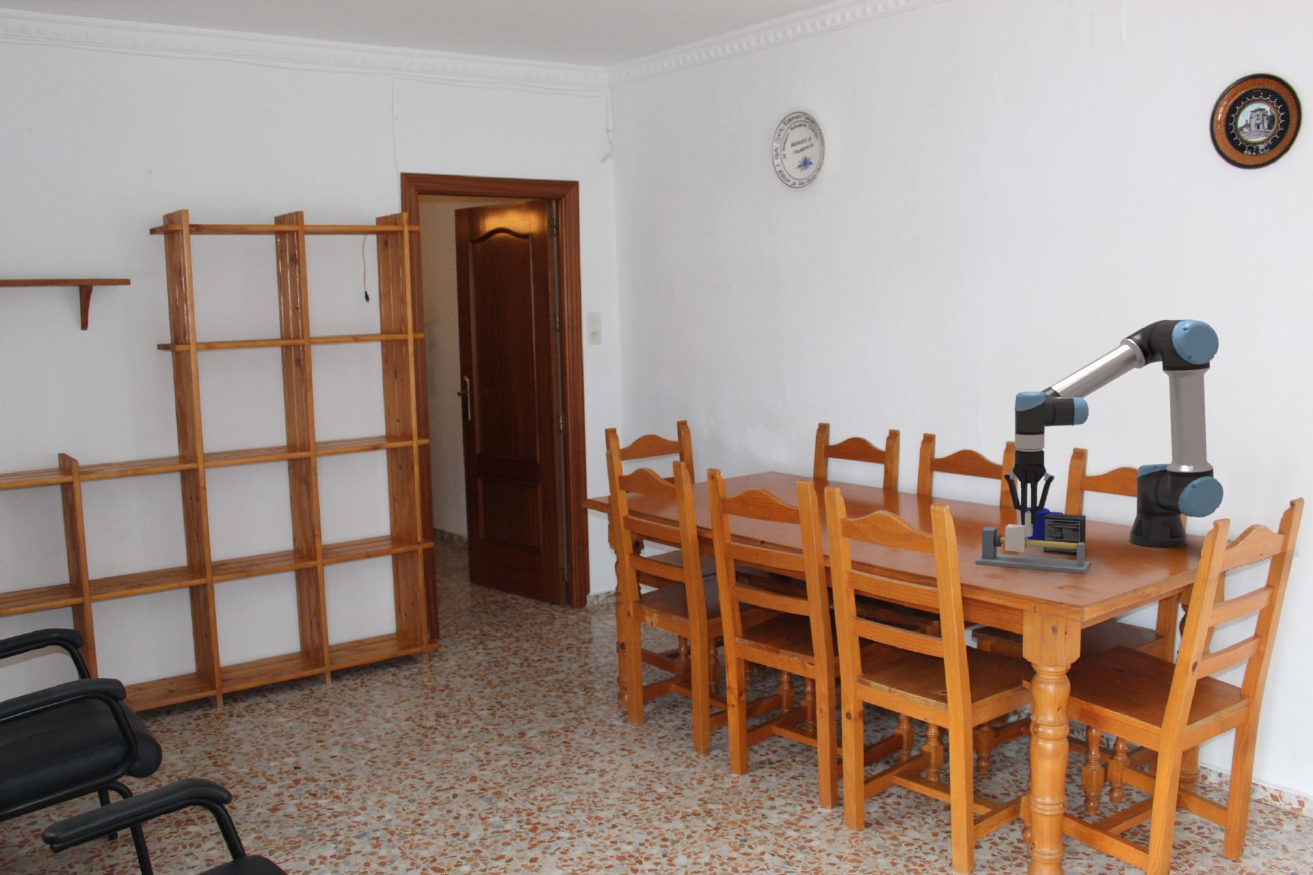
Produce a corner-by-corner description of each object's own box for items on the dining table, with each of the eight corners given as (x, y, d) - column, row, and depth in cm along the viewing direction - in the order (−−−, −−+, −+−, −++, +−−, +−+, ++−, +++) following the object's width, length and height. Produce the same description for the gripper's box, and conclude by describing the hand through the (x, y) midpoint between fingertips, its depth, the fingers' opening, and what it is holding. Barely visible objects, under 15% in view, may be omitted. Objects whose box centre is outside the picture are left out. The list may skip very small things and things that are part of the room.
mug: (1065, 546, 306) (1066, 512, 305) (1022, 545, 308) (1022, 512, 307) (1060, 540, 314) (1061, 507, 313) (1018, 539, 316) (1018, 506, 315)
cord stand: (1090, 565, 283) (1091, 532, 282) (1084, 573, 274) (1085, 539, 273) (984, 556, 297) (984, 524, 296) (975, 563, 289) (975, 531, 288)
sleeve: (1027, 548, 288) (1027, 525, 287) (1024, 551, 284) (1024, 528, 284) (1008, 547, 291) (1008, 524, 290) (1005, 550, 287) (1005, 527, 286)
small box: (1086, 550, 299) (1086, 514, 298) (1082, 555, 294) (1083, 518, 293) (1047, 547, 305) (1047, 512, 304) (1042, 552, 299) (1043, 516, 298)
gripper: (1057, 448, 282) (1056, 534, 285) (1007, 446, 289) (1007, 531, 292) (1052, 452, 276) (1051, 540, 279) (1001, 450, 283) (1000, 536, 285)
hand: (1028, 535), depth 285 cm, fingers closed
